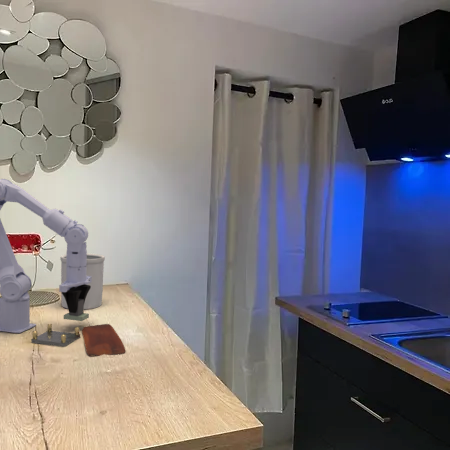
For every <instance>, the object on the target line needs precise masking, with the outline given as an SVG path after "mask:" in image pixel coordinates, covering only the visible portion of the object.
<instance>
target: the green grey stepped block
mask: <svg viewBox="0 0 450 450" xmlns="http://www.w3.org/2000/svg"><path fill="white" fill-rule="evenodd" d="M84 310H85V309H84V299H78V306H77V312H76V313H71V312H69V311H68V312H67V313H65V314H63V320H68V321H75V322H76V321H77V322H83V321H85V320H87V319H89V318H90V313H87V312H86V313H85V311H84Z"/></svg>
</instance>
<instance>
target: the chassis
mask: <svg viewBox="0 0 450 450" xmlns="http://www.w3.org/2000/svg"><path fill="white" fill-rule="evenodd" d="M46 325H47V326H46V327H47V328H46V331H45V332H42V333H40V334H39V335H38V330H33V331H32V338H31V339H30V340H31V342H30V343H32V344H36V345H37V344H39V345H46V346H52V347H54V346H55V347H61V348H66V347H67V346H68V345H70V344H71V343H74V342H75V341H77V340H79V339H80V338H81V333H80V326H75V327H74V332H65V331H57V330H53V324H52V323H47V324H46Z"/></svg>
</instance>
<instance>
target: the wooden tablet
mask: <svg viewBox="0 0 450 450" xmlns="http://www.w3.org/2000/svg"><path fill="white" fill-rule="evenodd" d="M81 333H82V337H83V343H84V347H85V351H86V354H87V355H88V357H94V358H95V357H100V356H104V355H105V356H116V355H117V356H119V355H123V354H125V353H126V348H125V345H124V343H123V341H122V338H121V337H120V336H119V334H118V332H116V330H115V328H114V327H113V326H112V325H111V324H110V323H103V324H95V325H88V326H84V327H82V329H81ZM118 354H119V355H118Z"/></svg>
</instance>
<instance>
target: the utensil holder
mask: <svg viewBox="0 0 450 450" xmlns="http://www.w3.org/2000/svg"><path fill="white" fill-rule="evenodd" d="M105 257H106V256H104V255H102V254H98V253H92V252H91V253H89V252H87V269H86V276H92V282H91V283H89V284H86V285H90V286H91V288H90V290H89V292H88V294H87V296H86V299H85V303H84V310H91V309H96V308H99V307H100V306H101V305H102V303H103V290H104V289H103V287H104V268H105V267H104V265H105V264H104V263H105V262H104V261H105ZM59 260H60V262H61V267H60V268H61V269H60V274H61V275H60V277H61V278H60V282H61V284H63V283H64V282H65V281H66V254H62V255H60V259H59ZM61 284H60V285H61ZM60 293H61V292H60ZM61 307H63V308H65V309H68V306H67V303H66V300H65V298H64V296H63V294H62V293H61Z"/></svg>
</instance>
